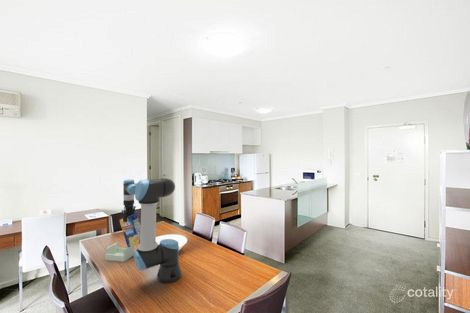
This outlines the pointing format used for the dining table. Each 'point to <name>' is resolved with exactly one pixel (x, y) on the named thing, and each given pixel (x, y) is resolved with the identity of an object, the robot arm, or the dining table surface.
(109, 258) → the crate
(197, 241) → the dining table surface
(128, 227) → the beverage box
